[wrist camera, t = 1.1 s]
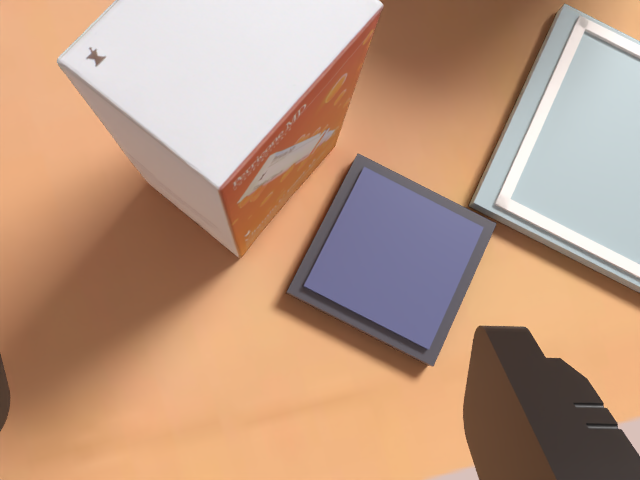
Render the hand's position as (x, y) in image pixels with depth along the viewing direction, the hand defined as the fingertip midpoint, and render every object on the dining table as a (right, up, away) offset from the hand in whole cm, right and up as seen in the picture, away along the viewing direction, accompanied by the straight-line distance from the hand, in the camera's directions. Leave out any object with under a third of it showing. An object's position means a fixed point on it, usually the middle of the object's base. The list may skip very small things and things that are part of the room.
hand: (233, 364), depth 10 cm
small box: (-3, +6, +20) cm, 21 cm away
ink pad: (+5, +1, +20) cm, 20 cm away
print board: (+18, +7, +22) cm, 29 cm away
